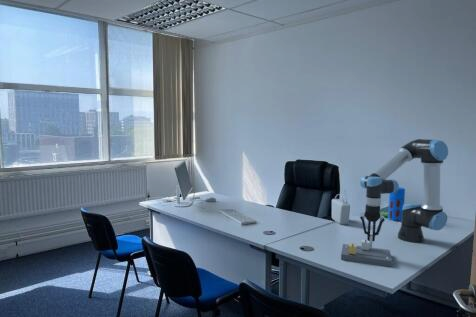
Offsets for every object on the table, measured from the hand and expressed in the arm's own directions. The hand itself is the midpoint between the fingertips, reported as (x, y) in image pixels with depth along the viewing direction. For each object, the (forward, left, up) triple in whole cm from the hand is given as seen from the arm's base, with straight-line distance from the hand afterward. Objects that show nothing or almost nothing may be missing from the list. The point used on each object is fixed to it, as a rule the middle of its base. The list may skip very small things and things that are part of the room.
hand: (370, 246), depth 195 cm
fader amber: (+9, +10, -1) cm, 14 cm away
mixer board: (+2, +5, -5) cm, 7 cm away
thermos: (-20, -92, -5) cm, 94 cm away
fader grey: (+3, 0, -1) cm, 3 cm away
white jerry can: (+20, -67, -5) cm, 70 cm away
